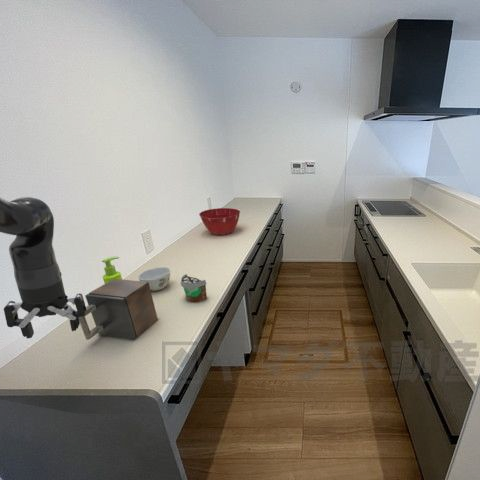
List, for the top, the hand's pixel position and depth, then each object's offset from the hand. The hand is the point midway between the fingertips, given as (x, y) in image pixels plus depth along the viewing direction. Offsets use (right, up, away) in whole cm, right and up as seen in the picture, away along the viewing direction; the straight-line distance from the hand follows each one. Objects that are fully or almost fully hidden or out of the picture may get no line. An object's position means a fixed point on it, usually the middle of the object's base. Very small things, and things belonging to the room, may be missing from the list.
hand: (53, 332), depth 70 cm
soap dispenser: (-15, -2, +43) cm, 46 cm away
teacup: (-5, +1, +52) cm, 53 cm away
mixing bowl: (-3, +30, +129) cm, 132 cm away
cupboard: (+1, -8, +28) cm, 29 cm away
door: (-1, -11, +20) cm, 23 cm away
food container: (+16, -2, +45) cm, 47 cm away
